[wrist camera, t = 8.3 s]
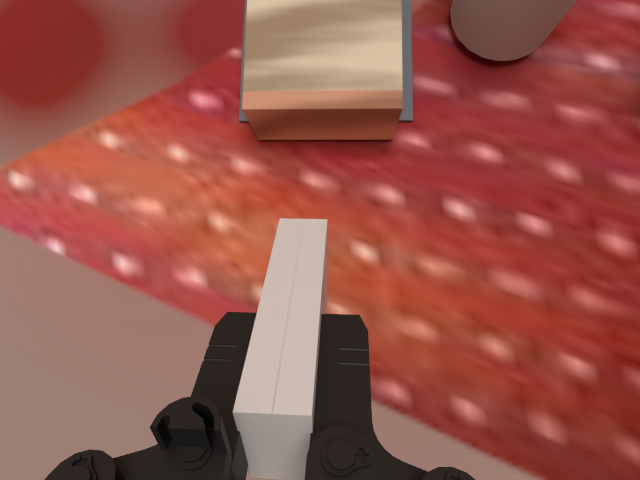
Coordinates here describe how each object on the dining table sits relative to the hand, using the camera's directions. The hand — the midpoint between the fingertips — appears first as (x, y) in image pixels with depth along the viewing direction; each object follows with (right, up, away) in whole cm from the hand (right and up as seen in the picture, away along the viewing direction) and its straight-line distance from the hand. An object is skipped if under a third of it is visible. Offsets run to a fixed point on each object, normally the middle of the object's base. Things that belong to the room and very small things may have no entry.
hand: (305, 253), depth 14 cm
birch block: (+1, +8, +14) cm, 17 cm away
